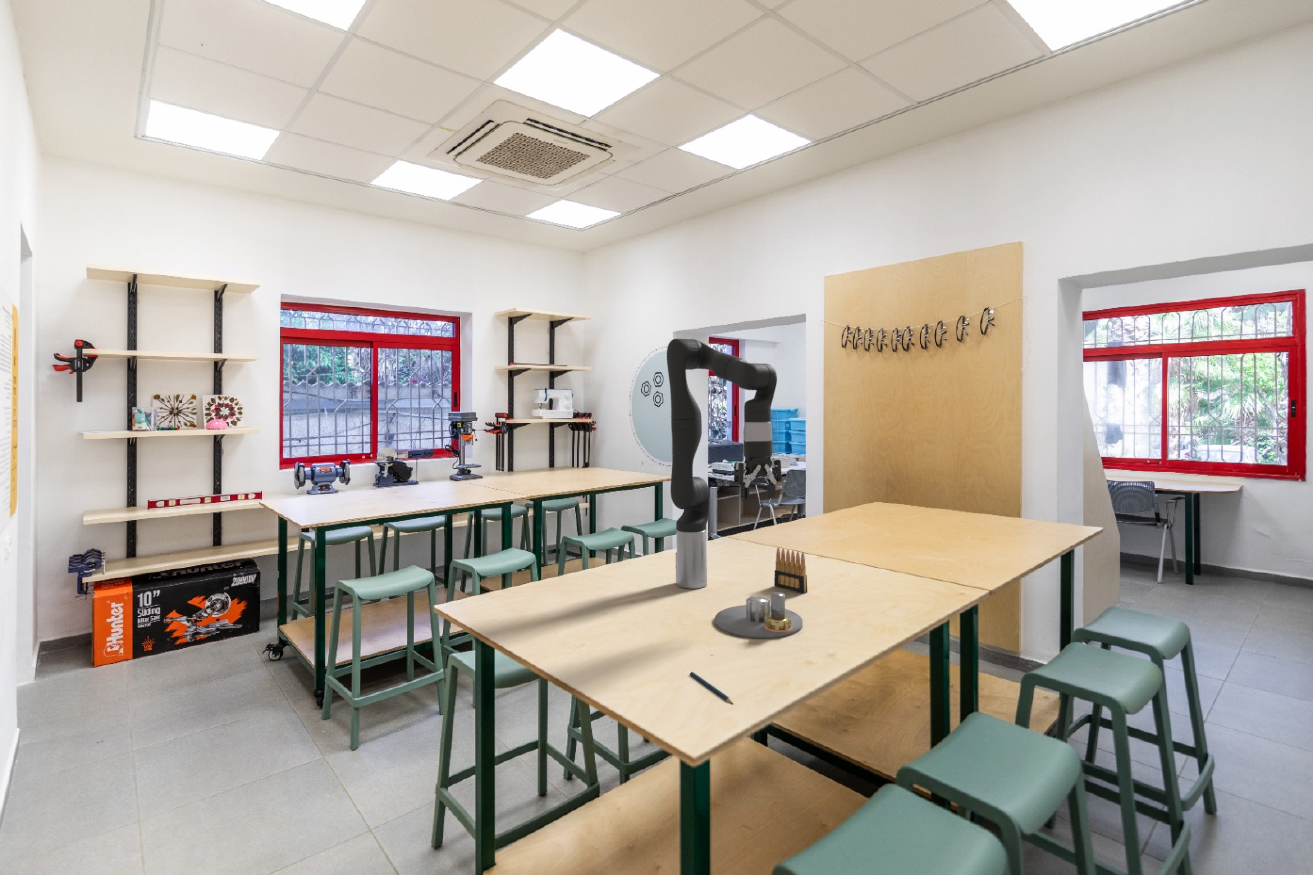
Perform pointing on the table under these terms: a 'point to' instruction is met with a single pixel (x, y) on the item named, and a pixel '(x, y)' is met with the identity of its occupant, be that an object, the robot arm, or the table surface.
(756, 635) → the carrier plate
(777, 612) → the planet gear
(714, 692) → the pencil
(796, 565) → the ammunition clip
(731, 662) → the table surface
